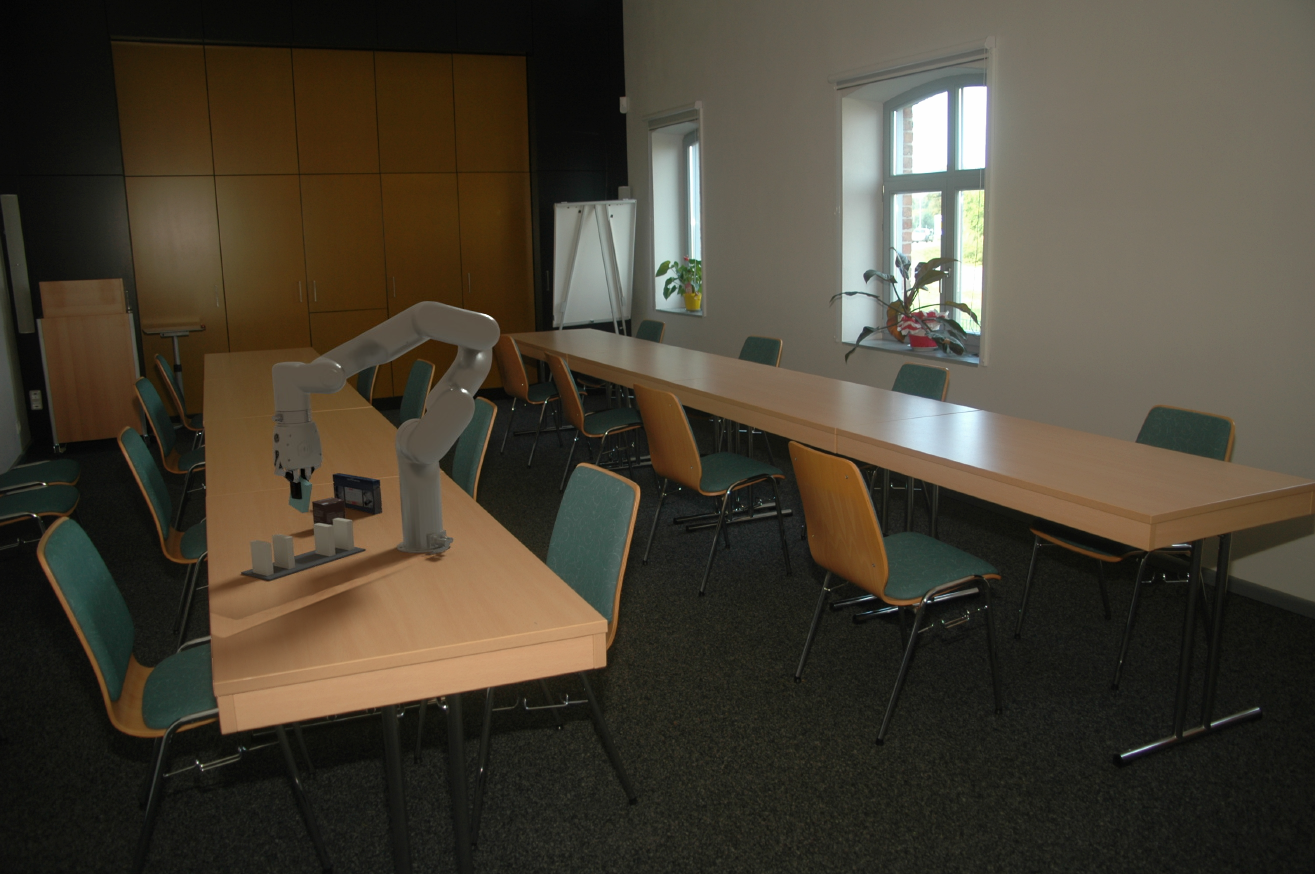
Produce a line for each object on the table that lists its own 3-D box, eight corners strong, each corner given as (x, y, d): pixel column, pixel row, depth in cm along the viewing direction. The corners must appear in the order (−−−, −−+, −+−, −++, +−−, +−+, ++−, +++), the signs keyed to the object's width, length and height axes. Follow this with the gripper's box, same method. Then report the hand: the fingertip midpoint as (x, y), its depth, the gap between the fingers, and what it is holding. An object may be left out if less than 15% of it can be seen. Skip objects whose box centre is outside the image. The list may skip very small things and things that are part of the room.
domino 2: (280, 563, 210) (278, 533, 208) (295, 567, 207) (292, 536, 206) (274, 565, 208) (272, 535, 207) (289, 569, 206) (286, 538, 205)
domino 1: (259, 570, 205) (256, 539, 204) (273, 573, 202) (270, 542, 201) (252, 572, 204) (250, 541, 203) (267, 575, 201) (264, 544, 200)
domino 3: (321, 551, 219) (319, 522, 218) (335, 554, 216) (333, 525, 215) (315, 553, 218) (313, 524, 216) (329, 556, 215) (327, 527, 214)
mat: (365, 550, 221) (365, 548, 221) (269, 580, 199) (269, 579, 199) (337, 544, 226) (337, 543, 226) (241, 573, 204) (240, 572, 204)
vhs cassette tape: (334, 508, 264) (331, 473, 262) (343, 506, 266) (341, 472, 265) (374, 517, 253) (371, 481, 251) (383, 514, 255) (380, 479, 254)
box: (334, 523, 246) (332, 496, 245) (347, 527, 242) (345, 500, 241) (313, 528, 242) (311, 501, 240) (326, 532, 238) (324, 504, 237)
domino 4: (340, 545, 223) (338, 517, 222) (354, 548, 221) (352, 520, 220) (334, 547, 222) (332, 519, 221) (348, 550, 219) (346, 521, 218)
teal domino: (294, 502, 213) (298, 475, 211) (308, 511, 210) (312, 484, 208) (288, 504, 211) (292, 476, 209) (302, 513, 209) (306, 485, 207)
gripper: (274, 423, 199) (281, 507, 202) (333, 414, 211) (339, 492, 214) (252, 421, 202) (260, 503, 206) (312, 412, 215) (318, 489, 218)
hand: (300, 497), depth 210 cm, fingers closed on teal domino
